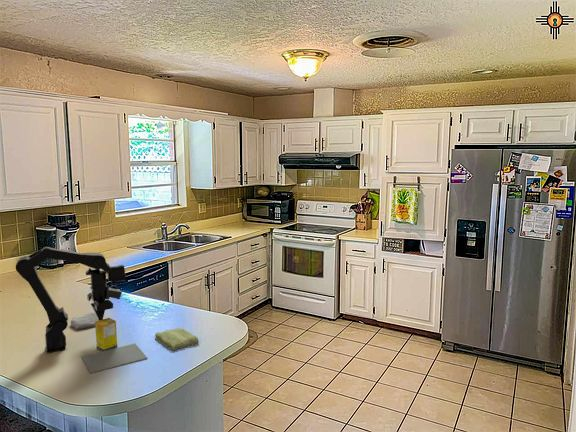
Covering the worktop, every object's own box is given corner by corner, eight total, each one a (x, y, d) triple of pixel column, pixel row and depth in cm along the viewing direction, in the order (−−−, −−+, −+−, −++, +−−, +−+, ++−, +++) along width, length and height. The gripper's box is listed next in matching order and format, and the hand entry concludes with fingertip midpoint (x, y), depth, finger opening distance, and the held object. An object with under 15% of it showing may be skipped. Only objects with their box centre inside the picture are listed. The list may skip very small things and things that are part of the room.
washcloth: (181, 331, 191) (181, 324, 191) (200, 344, 178) (200, 336, 177) (152, 339, 183) (152, 331, 183) (170, 353, 169) (170, 345, 169)
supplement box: (110, 342, 178) (108, 317, 177) (117, 346, 174) (116, 320, 173) (96, 347, 173) (94, 321, 172) (103, 351, 170) (101, 324, 168)
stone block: (104, 327, 200) (96, 318, 206) (104, 318, 198) (96, 309, 205) (77, 335, 191) (69, 325, 198) (77, 326, 190) (69, 316, 196)
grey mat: (90, 373, 152) (90, 372, 152) (81, 357, 165) (81, 356, 165) (147, 358, 164) (147, 357, 164) (135, 344, 177) (134, 343, 176)
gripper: (125, 286, 175) (127, 323, 176) (113, 276, 190) (115, 310, 192) (96, 290, 168) (98, 329, 170) (86, 280, 183) (88, 315, 185)
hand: (100, 320), depth 179 cm, fingers closed
